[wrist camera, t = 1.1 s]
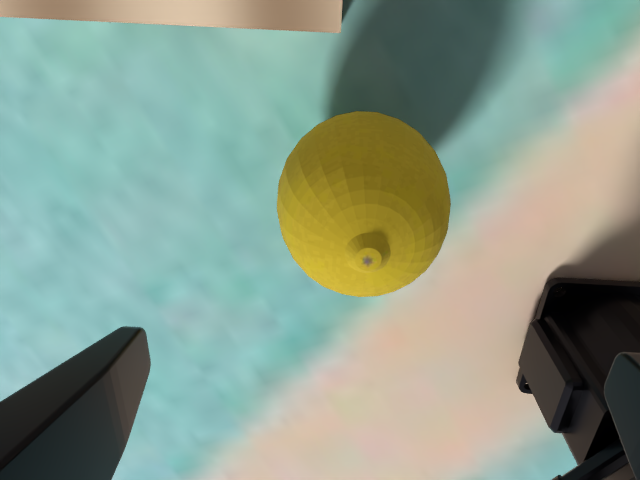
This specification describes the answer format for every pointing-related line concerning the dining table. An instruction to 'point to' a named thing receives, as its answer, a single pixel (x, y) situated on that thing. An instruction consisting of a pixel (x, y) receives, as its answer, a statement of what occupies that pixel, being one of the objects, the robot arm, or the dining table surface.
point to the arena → (189, 12)
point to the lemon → (363, 204)
